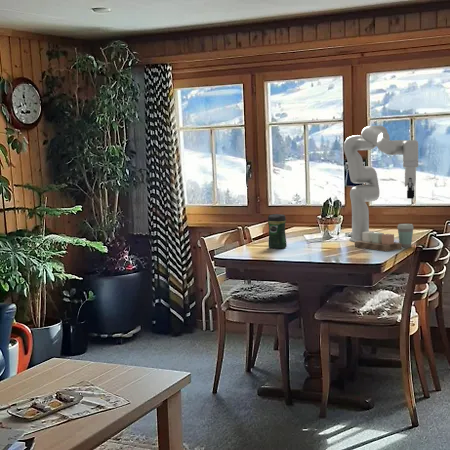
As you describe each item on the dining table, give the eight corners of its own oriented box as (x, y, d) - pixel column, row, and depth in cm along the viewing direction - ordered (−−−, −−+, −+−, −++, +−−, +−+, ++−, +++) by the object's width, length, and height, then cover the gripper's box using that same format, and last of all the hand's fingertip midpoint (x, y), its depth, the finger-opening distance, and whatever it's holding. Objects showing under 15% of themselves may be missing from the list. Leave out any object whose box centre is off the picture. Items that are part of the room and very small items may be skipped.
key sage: (371, 242, 357) (371, 233, 356) (377, 241, 359) (377, 232, 359) (378, 243, 353) (378, 234, 353) (383, 242, 356) (383, 233, 355)
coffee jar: (288, 247, 368) (288, 213, 365) (281, 249, 361) (280, 215, 359) (274, 246, 373) (273, 213, 371) (266, 248, 367) (265, 214, 365)
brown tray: (355, 246, 362) (355, 241, 362) (370, 244, 369) (370, 239, 369) (385, 251, 344) (385, 245, 344) (401, 248, 351) (401, 243, 350)
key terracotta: (381, 243, 351) (381, 234, 350) (387, 243, 353) (387, 233, 353) (388, 244, 347) (388, 235, 347) (394, 243, 350) (394, 234, 349)
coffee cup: (414, 247, 352) (414, 225, 351) (397, 247, 354) (397, 225, 353) (413, 245, 361) (413, 223, 359) (396, 245, 362) (396, 223, 361)
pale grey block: (362, 241, 363) (362, 232, 362) (368, 240, 365) (368, 231, 364) (368, 242, 359) (368, 232, 358) (374, 241, 361) (374, 232, 361)
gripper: (403, 164, 353) (404, 196, 355) (402, 165, 337) (402, 199, 338) (418, 163, 351) (418, 196, 353) (417, 164, 334) (417, 199, 336)
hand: (410, 197), depth 345 cm, fingers open, 9 cm apart
